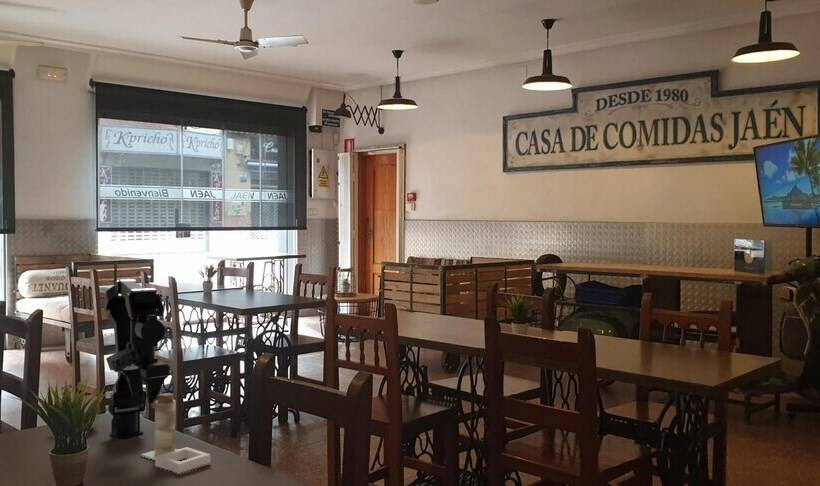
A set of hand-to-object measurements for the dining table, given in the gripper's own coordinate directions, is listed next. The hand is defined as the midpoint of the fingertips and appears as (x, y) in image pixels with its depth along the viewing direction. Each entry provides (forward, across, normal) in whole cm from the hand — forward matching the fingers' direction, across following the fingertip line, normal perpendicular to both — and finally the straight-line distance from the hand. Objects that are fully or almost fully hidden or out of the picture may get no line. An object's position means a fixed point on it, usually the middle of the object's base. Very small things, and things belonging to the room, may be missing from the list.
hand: (142, 400), depth 184 cm
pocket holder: (+13, +16, +3) cm, 21 cm away
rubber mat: (+13, +6, +3) cm, 15 cm away
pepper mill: (+13, +6, +3) cm, 14 cm away
